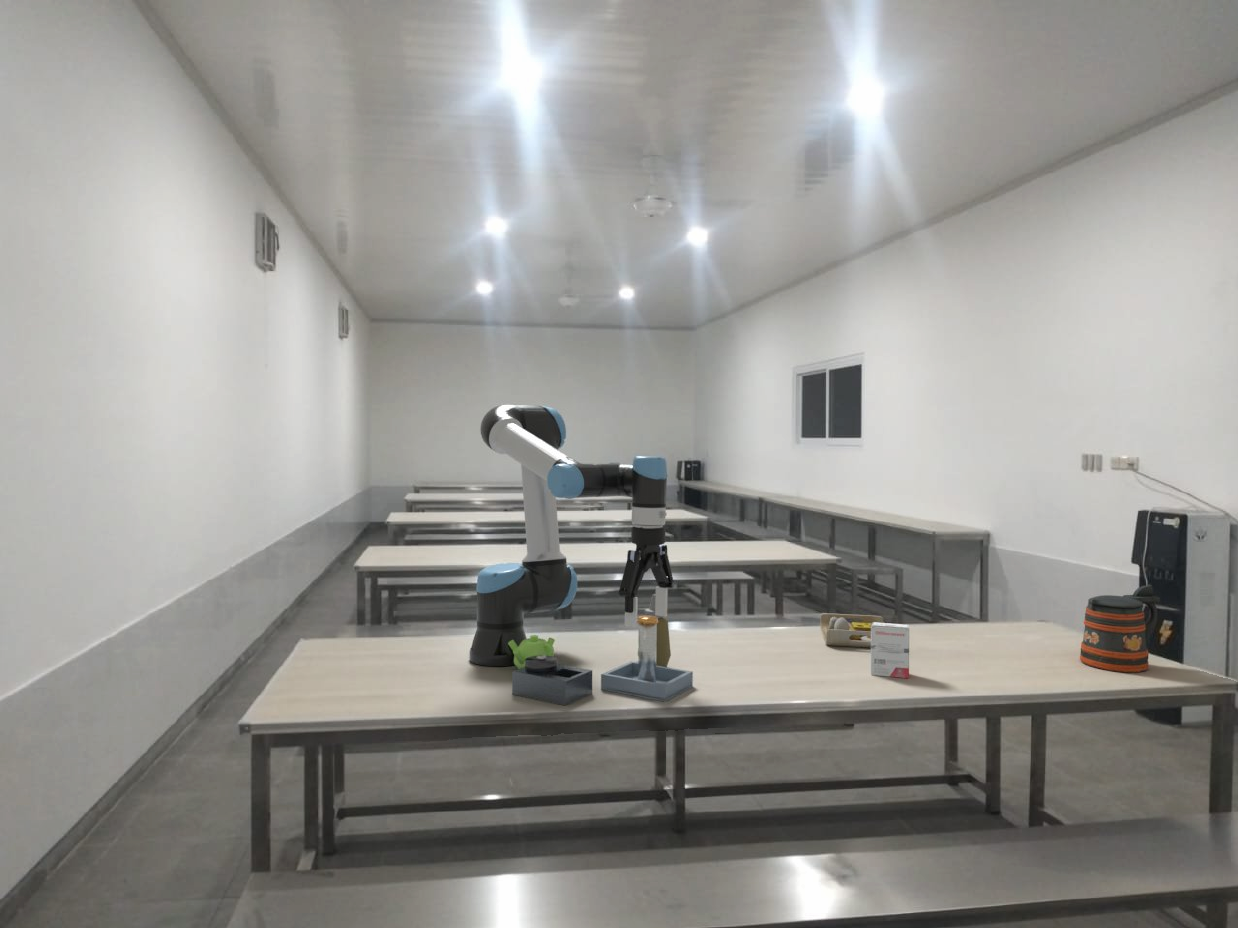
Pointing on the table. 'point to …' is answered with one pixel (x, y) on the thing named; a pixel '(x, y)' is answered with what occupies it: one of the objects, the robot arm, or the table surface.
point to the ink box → (890, 650)
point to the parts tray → (647, 682)
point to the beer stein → (1119, 631)
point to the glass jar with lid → (647, 648)
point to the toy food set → (847, 629)
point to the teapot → (531, 649)
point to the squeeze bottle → (660, 636)
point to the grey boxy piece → (551, 681)
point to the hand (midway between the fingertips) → (646, 621)
